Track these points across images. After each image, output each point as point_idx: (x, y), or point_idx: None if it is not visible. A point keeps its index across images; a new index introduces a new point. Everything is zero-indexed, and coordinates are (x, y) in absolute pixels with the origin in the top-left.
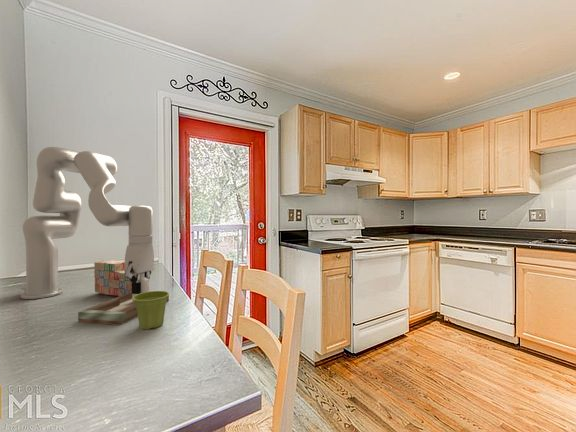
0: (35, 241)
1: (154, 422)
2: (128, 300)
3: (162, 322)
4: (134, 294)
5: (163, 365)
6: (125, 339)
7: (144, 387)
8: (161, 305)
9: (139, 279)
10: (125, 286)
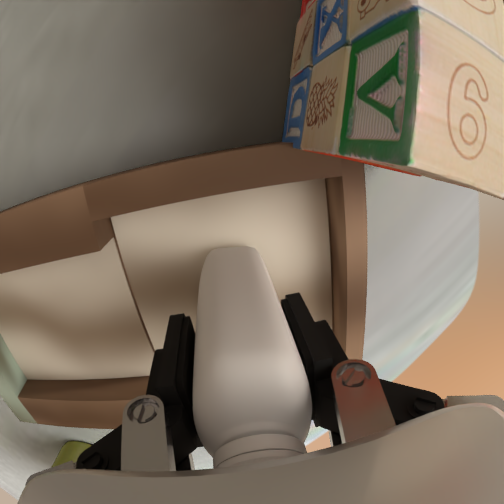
0: None
1: (18, 499)
2: (221, 196)
3: None
4: (197, 309)
5: None
6: (23, 443)
7: (20, 490)
8: None
9: (189, 469)
10: (319, 74)
